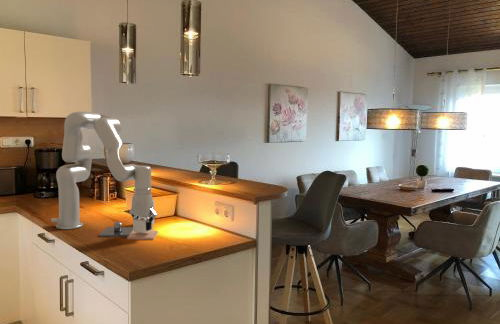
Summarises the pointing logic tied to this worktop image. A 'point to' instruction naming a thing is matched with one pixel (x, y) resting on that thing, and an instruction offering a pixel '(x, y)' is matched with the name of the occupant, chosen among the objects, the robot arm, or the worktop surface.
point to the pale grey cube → (140, 225)
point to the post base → (114, 234)
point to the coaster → (142, 235)
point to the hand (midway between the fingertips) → (142, 228)
